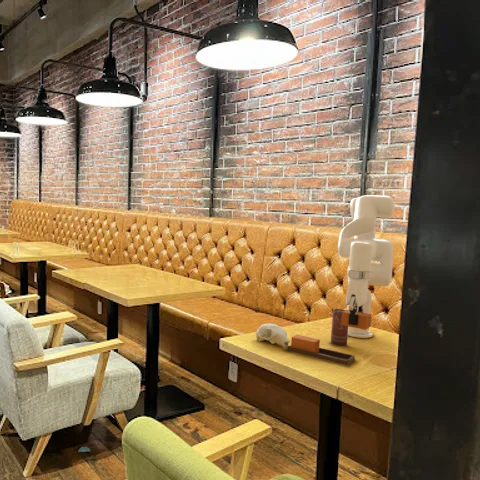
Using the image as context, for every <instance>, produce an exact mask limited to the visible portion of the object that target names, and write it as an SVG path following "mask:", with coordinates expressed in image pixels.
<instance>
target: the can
mask: <svg viewBox="0 0 480 480" xmlns="http://www.w3.org/2000/svg"><path fill="white" fill-rule="evenodd" d="M345 310H346V309H341V308H335V309H333V311H332V316H331V317H332V319H331V329H330V330H331V333H330V344H331V345H334V346H337V347H338V346H339V347H346V346H347V345H348V337H349V336H348V326H344V325H341V317H342V312H343V311H345Z"/></svg>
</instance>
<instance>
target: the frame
mask: <svg viewBox="0 0 480 480" xmlns="http://www.w3.org/2000/svg"><path fill="white" fill-rule="evenodd" d="M286 351H287V352H291V353H295V354H299V355H303V356H307V357H312V358H316V359H319V360H323V361H327V362H332V363H336V364H340V365H344V366H348V365H350V364H351V363H352V362H354V361H355V359H356V355H354V354H350V353H345V352H342V351H341V352H340V351H336V350H332V349H328V348H323V347H321V346H319V353H314V352H310V351H306V350H301V349H297V348H293V347H291V344H290V345H288V347H287V349H286Z"/></svg>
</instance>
